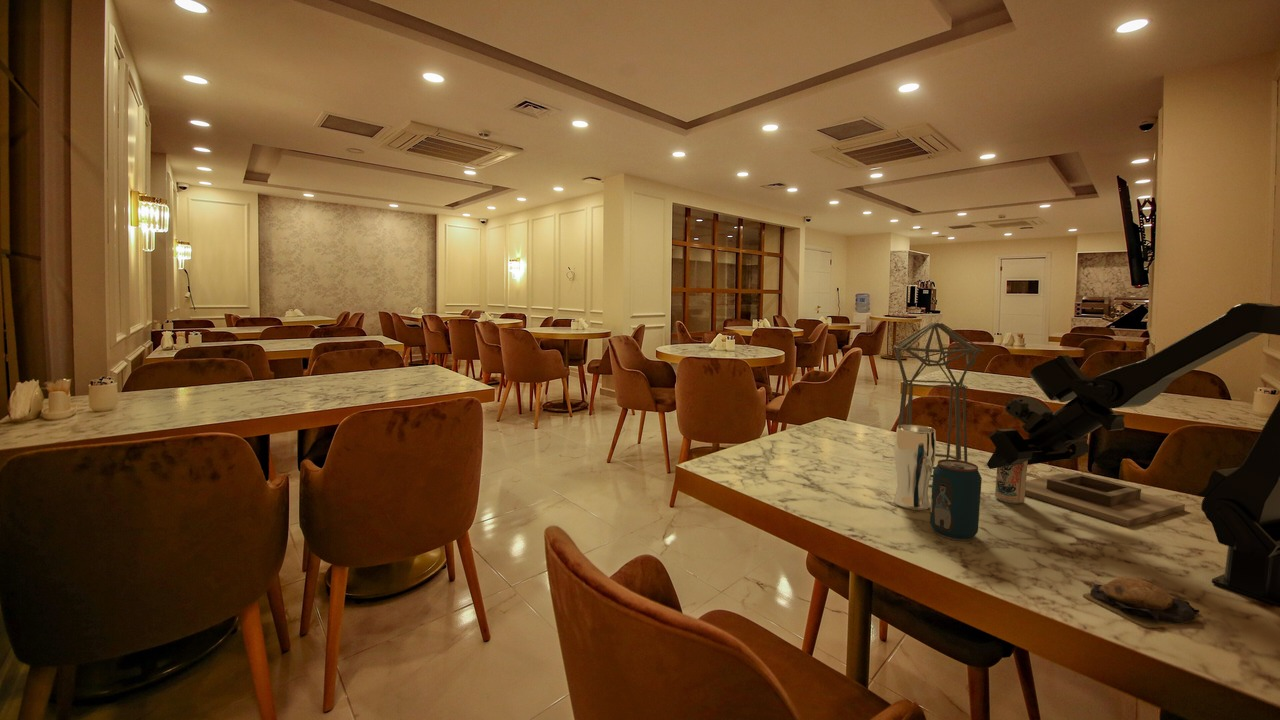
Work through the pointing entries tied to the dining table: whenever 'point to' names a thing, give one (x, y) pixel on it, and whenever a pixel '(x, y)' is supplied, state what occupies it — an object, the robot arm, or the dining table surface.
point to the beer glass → (914, 465)
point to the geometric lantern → (967, 349)
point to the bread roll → (1142, 603)
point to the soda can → (955, 499)
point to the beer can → (1011, 483)
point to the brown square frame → (1101, 498)
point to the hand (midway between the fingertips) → (1006, 464)
